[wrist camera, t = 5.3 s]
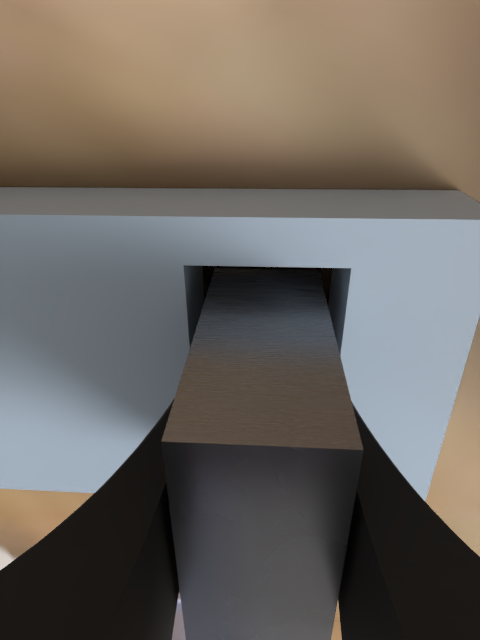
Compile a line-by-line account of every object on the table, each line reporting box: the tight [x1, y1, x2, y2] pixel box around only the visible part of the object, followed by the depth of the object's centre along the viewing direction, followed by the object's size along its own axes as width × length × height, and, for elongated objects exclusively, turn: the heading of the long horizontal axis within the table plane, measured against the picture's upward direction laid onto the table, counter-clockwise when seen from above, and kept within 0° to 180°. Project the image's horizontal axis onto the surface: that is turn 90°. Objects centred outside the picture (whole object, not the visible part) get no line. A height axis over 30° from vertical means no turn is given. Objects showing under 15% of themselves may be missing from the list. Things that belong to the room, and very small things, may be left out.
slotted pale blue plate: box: [0, 187, 480, 501], centre depth 14 cm, size 10×17×3 cm, turn 91°
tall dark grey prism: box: [161, 268, 363, 640], centre depth 11 cm, size 6×3×7 cm, turn 1°
